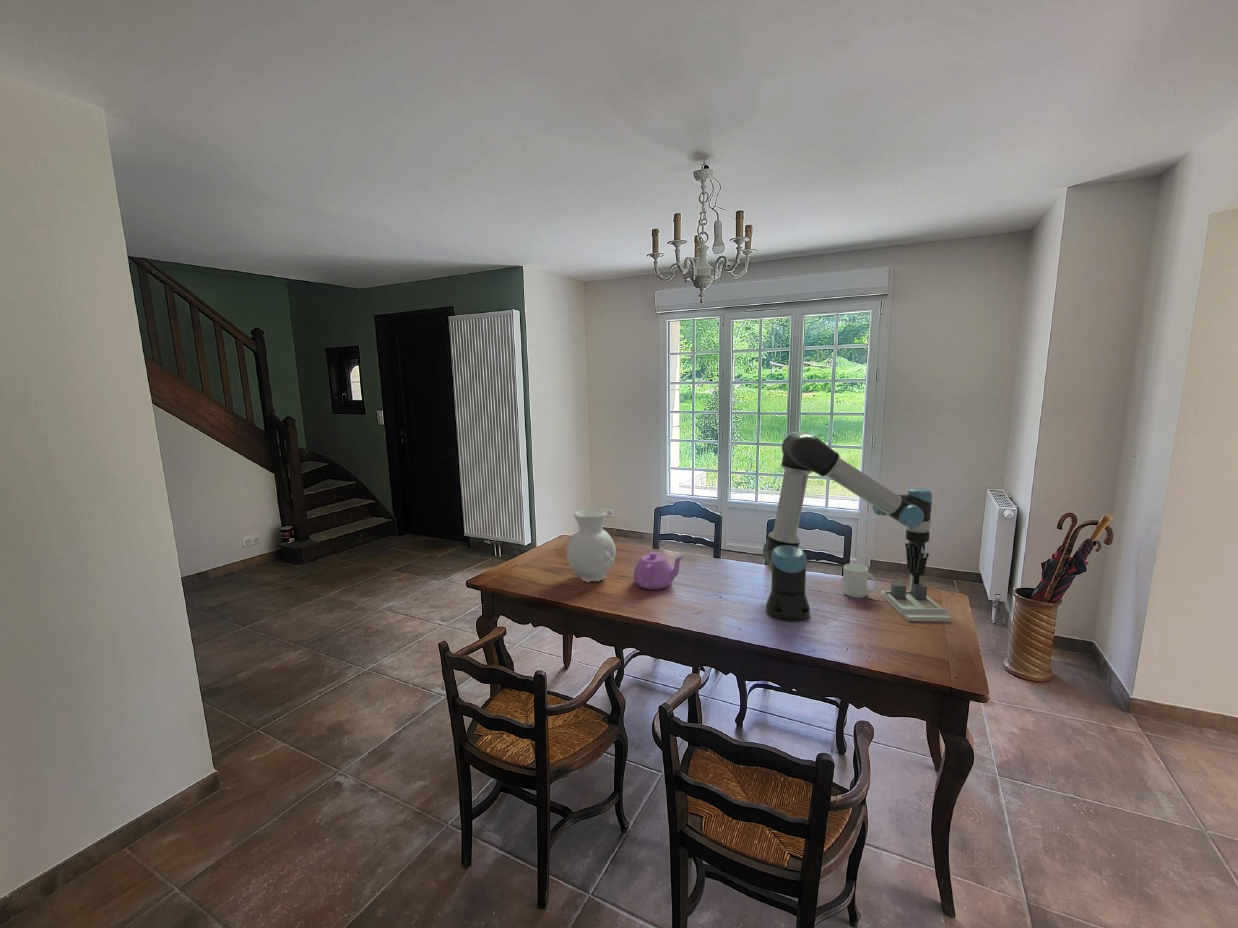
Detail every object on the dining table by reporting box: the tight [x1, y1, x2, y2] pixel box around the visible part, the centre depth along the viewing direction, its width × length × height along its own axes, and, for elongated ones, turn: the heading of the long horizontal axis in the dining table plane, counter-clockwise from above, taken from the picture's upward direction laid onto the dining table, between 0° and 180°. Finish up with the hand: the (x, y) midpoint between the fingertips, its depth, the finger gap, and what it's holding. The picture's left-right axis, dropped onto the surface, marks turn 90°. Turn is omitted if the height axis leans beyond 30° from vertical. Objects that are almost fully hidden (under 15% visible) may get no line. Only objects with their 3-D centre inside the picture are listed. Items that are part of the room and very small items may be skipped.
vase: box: [566, 509, 617, 582], centre depth 218 cm, size 19×21×30 cm
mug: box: [842, 563, 878, 599], centre depth 195 cm, size 9×12×11 cm
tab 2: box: [911, 583, 928, 600], centre depth 186 cm, size 4×3×5 cm
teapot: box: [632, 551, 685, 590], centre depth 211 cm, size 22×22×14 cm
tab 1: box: [890, 582, 907, 599], centre depth 188 cm, size 4×3×5 cm
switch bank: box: [880, 589, 952, 623], centre depth 183 cm, size 14×22×3 cm, turn 175°
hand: (913, 590), depth 190 cm, fingers closed
